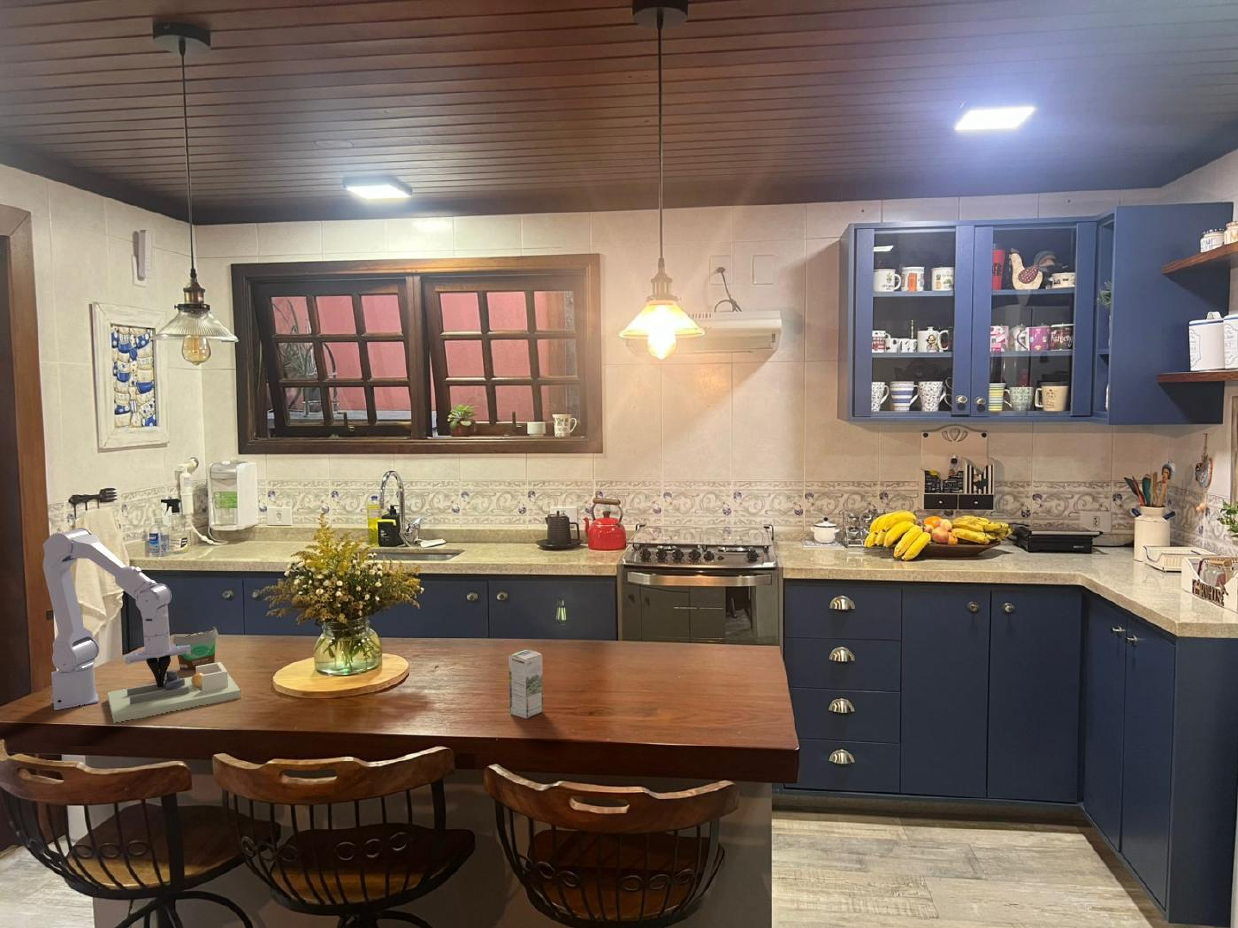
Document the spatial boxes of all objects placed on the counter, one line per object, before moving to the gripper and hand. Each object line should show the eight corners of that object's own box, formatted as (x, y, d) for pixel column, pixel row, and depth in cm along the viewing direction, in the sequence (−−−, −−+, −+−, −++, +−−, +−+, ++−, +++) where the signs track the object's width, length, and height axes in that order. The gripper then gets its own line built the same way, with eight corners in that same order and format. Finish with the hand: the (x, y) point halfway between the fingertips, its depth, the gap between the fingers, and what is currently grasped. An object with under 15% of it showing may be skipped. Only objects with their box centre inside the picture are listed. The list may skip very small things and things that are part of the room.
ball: (205, 688, 219) (190, 687, 217) (203, 685, 222) (188, 684, 220) (209, 675, 220) (194, 674, 218) (206, 672, 223) (192, 670, 221)
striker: (167, 694, 213) (166, 675, 213) (164, 688, 218) (163, 669, 218) (181, 692, 215) (179, 673, 215) (177, 686, 220) (176, 667, 220)
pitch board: (113, 723, 201) (112, 708, 201) (107, 699, 217) (106, 686, 217) (240, 697, 217) (240, 683, 216) (226, 677, 233) (225, 664, 233)
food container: (185, 674, 236) (182, 639, 236) (174, 670, 240) (172, 636, 239) (228, 663, 246) (226, 629, 245) (217, 659, 250) (215, 626, 249)
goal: (202, 691, 216) (201, 676, 216) (196, 681, 224) (195, 666, 224) (228, 686, 219) (227, 671, 219) (221, 676, 228) (220, 661, 227)
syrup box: (526, 707, 205) (524, 648, 204) (544, 712, 201) (542, 652, 200) (509, 714, 201) (507, 654, 200) (527, 719, 197) (525, 658, 196)
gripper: (124, 642, 207) (128, 696, 208) (190, 631, 215) (194, 684, 216) (122, 636, 212) (126, 688, 213) (186, 626, 220) (190, 677, 222)
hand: (160, 686), depth 215 cm, fingers closed
